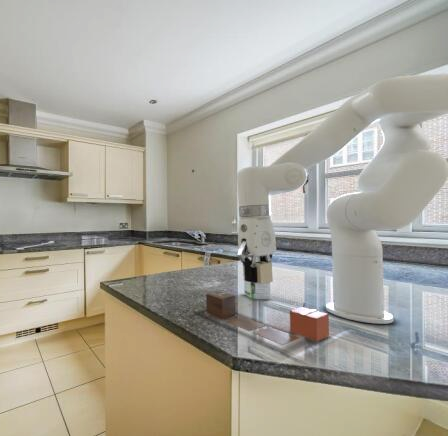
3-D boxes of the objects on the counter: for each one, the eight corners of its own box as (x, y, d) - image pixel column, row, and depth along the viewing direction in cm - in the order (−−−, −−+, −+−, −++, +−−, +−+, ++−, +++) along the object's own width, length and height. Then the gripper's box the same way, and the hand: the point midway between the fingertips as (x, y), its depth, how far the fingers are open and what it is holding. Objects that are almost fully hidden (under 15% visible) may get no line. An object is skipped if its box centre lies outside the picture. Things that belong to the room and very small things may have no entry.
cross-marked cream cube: (254, 278, 70) (254, 260, 70) (272, 281, 65) (271, 262, 66) (243, 280, 67) (242, 262, 68) (261, 284, 63) (260, 264, 63)
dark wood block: (219, 309, 68) (219, 290, 68) (235, 315, 63) (235, 295, 63) (206, 312, 65) (206, 293, 65) (222, 318, 61) (221, 298, 61)
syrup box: (243, 294, 83) (242, 251, 83) (261, 294, 82) (260, 251, 83) (252, 299, 77) (251, 253, 77) (271, 299, 77) (270, 253, 77)
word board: (220, 307, 70) (220, 306, 70) (308, 340, 51) (308, 337, 51) (196, 313, 66) (196, 311, 66) (283, 351, 46) (283, 349, 46)
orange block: (303, 328, 56) (302, 306, 56) (329, 337, 52) (329, 313, 52) (289, 333, 54) (288, 310, 54) (316, 343, 49) (315, 318, 49)
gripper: (247, 212, 59) (251, 288, 59) (286, 211, 67) (290, 278, 67) (221, 214, 66) (224, 282, 66) (260, 213, 74) (263, 273, 74)
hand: (257, 279), depth 66 cm, fingers closed on cross-marked cream cube, 5 cm apart
